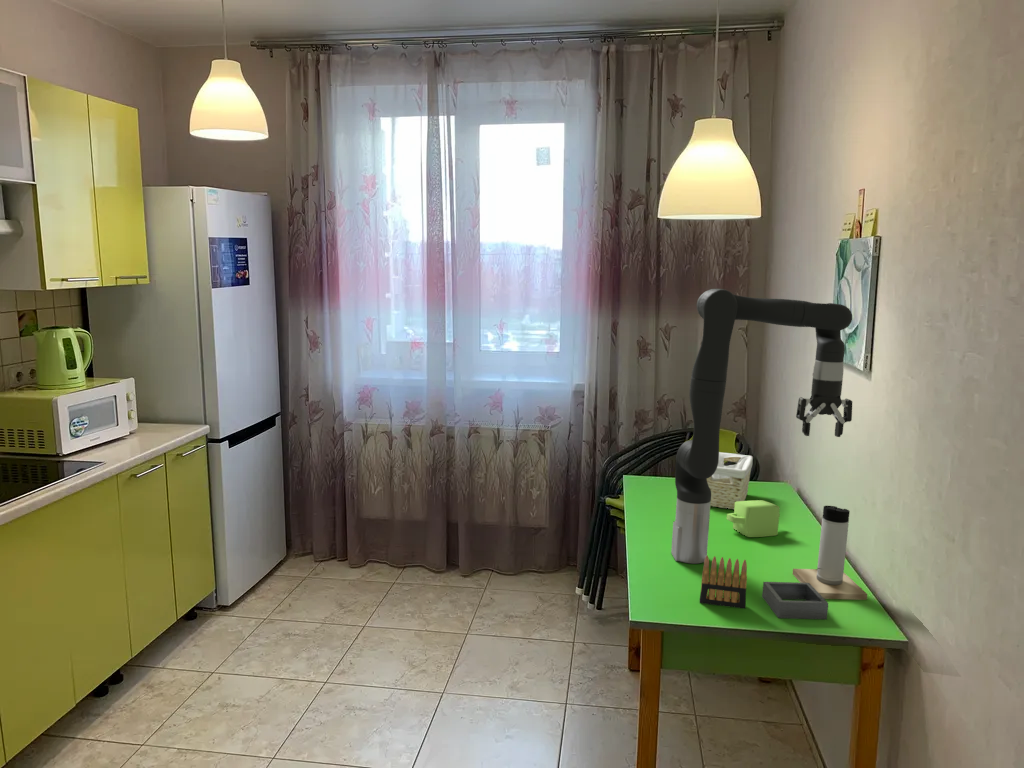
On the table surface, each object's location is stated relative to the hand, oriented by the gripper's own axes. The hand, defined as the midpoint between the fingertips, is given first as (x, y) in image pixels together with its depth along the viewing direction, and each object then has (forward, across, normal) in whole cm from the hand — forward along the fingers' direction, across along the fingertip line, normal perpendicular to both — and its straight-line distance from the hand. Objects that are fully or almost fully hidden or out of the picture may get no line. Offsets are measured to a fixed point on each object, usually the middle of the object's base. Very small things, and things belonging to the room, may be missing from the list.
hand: (822, 435), depth 205 cm
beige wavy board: (+36, -2, -17) cm, 40 cm away
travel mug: (+35, -2, -17) cm, 39 cm away
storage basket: (+36, -9, +55) cm, 67 cm away
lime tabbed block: (+36, -8, +23) cm, 44 cm away
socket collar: (+36, -16, -30) cm, 50 cm away
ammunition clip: (+36, -33, -29) cm, 57 cm away
